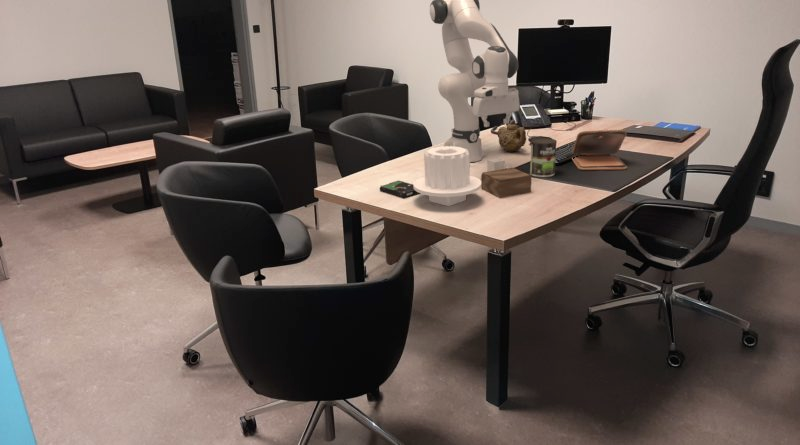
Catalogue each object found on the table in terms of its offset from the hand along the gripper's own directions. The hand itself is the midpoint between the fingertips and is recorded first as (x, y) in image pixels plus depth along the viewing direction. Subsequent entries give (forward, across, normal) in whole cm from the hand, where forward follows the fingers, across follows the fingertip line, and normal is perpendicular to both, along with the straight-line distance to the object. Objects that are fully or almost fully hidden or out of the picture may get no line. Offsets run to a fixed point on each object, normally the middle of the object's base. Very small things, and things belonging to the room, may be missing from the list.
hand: (496, 125), depth 249 cm
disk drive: (+23, +40, -7) cm, 47 cm away
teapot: (+22, -33, -33) cm, 52 cm away
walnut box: (+23, +6, +15) cm, 28 cm away
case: (+23, -49, +6) cm, 54 cm away
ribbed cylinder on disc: (+23, +31, +12) cm, 40 cm away
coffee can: (+23, -20, +5) cm, 31 cm away
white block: (+22, 0, 0) cm, 22 cm away
